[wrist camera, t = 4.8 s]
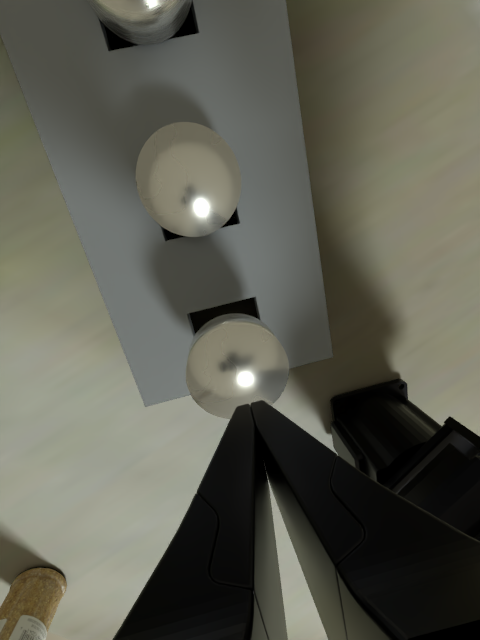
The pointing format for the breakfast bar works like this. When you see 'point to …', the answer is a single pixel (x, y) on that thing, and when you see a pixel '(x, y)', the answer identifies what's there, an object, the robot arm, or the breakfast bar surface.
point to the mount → (122, 155)
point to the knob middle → (188, 179)
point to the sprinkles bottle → (31, 604)
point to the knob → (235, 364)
